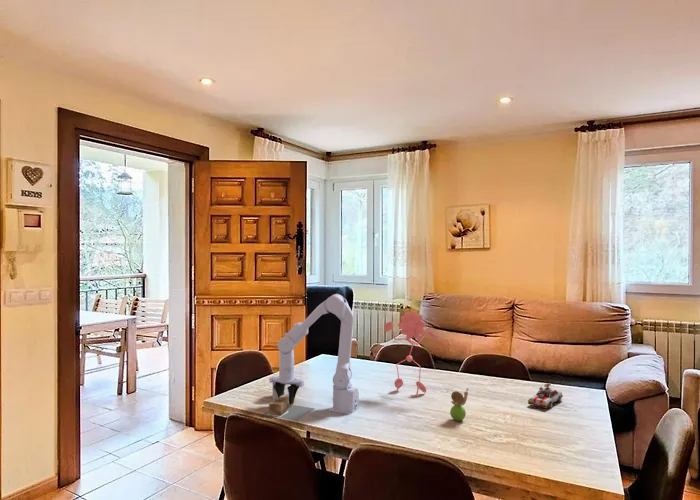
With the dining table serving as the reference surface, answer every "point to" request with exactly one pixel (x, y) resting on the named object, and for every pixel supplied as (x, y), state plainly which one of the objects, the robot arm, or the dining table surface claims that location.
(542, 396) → the toy car
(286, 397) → the beech brick
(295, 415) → the mat
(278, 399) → the medicine box
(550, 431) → the dining table surface
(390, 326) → the figurine
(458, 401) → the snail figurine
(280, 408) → the walnut brick
